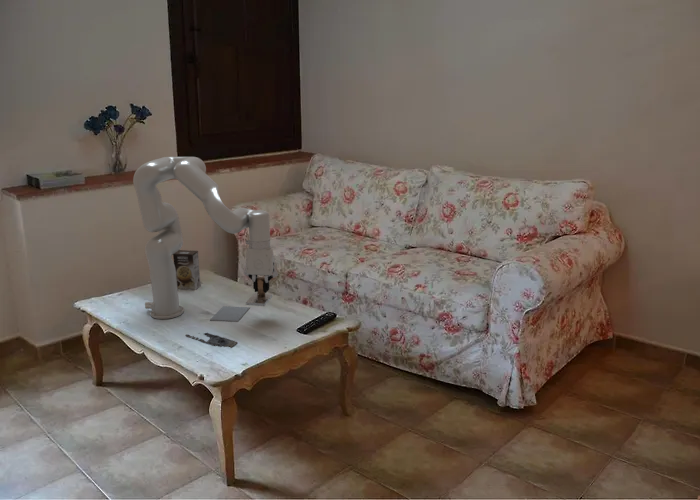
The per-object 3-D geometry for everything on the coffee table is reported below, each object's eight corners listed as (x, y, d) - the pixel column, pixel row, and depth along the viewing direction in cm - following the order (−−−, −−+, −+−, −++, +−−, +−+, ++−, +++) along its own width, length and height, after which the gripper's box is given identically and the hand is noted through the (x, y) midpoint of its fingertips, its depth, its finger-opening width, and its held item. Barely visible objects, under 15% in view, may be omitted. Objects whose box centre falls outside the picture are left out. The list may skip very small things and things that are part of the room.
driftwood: (240, 345, 224) (239, 339, 224) (225, 352, 219) (225, 346, 218) (200, 332, 236) (199, 327, 236) (185, 339, 231) (185, 333, 230)
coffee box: (175, 289, 279) (172, 253, 275) (181, 284, 286) (178, 249, 281) (195, 290, 278) (192, 254, 273) (201, 285, 284) (198, 250, 280)
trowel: (245, 304, 236) (245, 284, 233) (254, 295, 245) (253, 275, 243) (264, 306, 235) (263, 285, 232) (272, 296, 244) (271, 276, 242)
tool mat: (210, 320, 245) (210, 319, 245) (223, 307, 258) (223, 306, 258) (237, 321, 243) (237, 320, 243) (249, 308, 256) (249, 307, 256)
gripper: (235, 245, 234) (237, 293, 239) (278, 248, 232) (280, 296, 237) (241, 240, 241) (243, 286, 247) (284, 242, 239) (285, 289, 244)
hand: (261, 290), depth 242 cm, fingers closed on trowel, 3 cm apart
